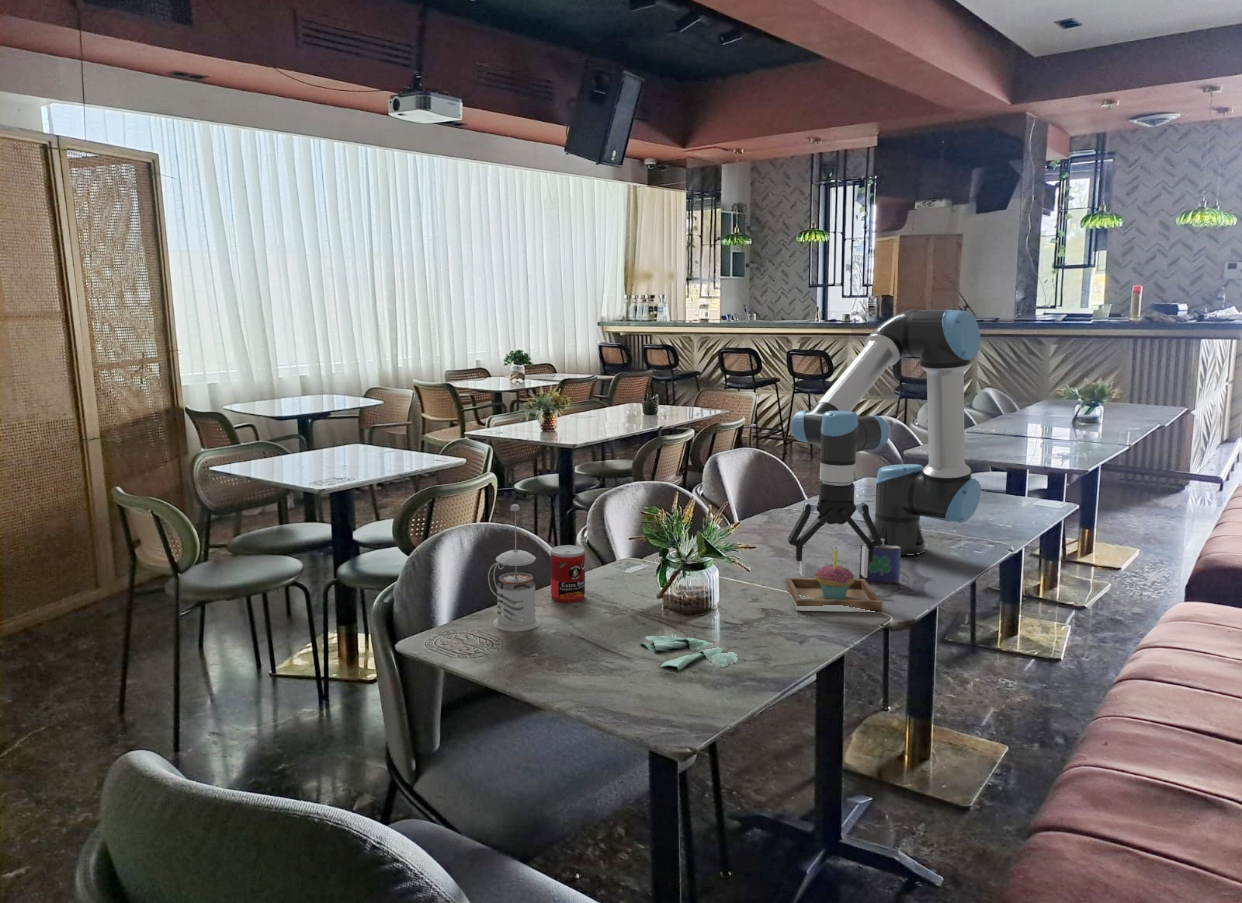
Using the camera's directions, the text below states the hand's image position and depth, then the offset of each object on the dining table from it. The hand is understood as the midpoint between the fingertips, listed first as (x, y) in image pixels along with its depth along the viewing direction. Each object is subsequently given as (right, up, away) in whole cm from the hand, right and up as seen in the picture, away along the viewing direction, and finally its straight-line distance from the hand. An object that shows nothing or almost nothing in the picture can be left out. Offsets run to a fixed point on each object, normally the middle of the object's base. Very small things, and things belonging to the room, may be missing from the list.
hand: (833, 575), depth 193 cm
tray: (0, -6, +1) cm, 6 cm away
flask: (+14, -4, +14) cm, 20 cm away
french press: (-69, -8, -14) cm, 71 cm away
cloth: (-36, -11, -30) cm, 48 cm away
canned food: (-59, -5, +2) cm, 59 cm away
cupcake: (0, -5, +1) cm, 5 cm away
